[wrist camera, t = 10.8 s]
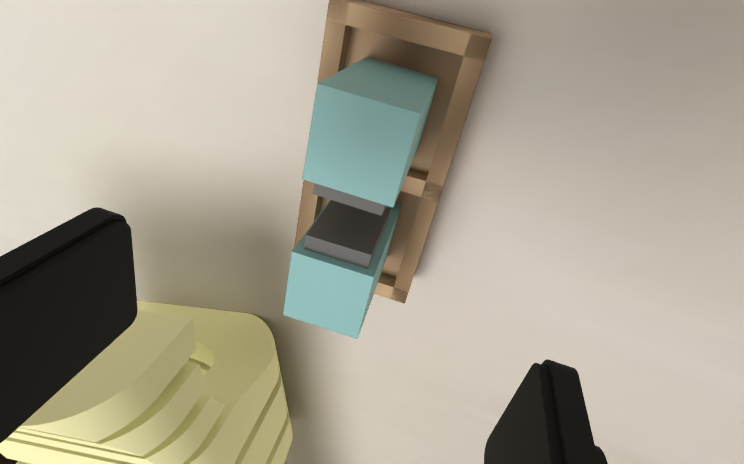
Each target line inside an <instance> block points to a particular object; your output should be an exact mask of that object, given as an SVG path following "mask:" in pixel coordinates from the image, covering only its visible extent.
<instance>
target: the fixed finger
mask: <svg viewBox="0 0 744 464" xmlns="http://www.w3.org/2000/svg"><path fill="white" fill-rule="evenodd" d="M401 205H402V204H399V203H395V204H394V207H389V206H386V208H385V210H384V212H383V214H382V216H381V215H378V214H374V213H371V212H368V211H365V210H362V209H359V208H355V207H352V206H349V205H346V204H343V203H339V202H336V201H333V200H330V201H329V202H328V203H327V205H326V206H325V207H324V209H323V210H322V211H321V213H320V214H319V216H318V217H317V218H316V220H315V221H314V222H313V224H312V225H311V226H310V228H309V229H308V230H307V232H306V233H305V234H304V236H303V237H302V238H301V240H300V241H299V243H298V244H297V245H296V247H295V248H294V249H293V251H292V253H291V260H290V268H289V275H288V282H287V289H286V297H285V304H284V311H283V315H285V316H288V317H291V318H294V319H297V320H300V321H303V322H306V323H309V324H312V325H315V326H318V327H322V328H325V329H328V330H331V331H334V332H337V333H340V334H343V335H346V336H349V337H352V338H355V339H357V338H358V336H359V333H360V330H361V327H362V325H363V322H364V319H365V316H366V314H367V311H368V308H369V305H370V303H371V300H372V297H373V294H374V291H375V289H376V286H377V283H378V280H379V278H380V275H381V272H382V269H383V267H384V264H385V261H386V258H387V255H388V252H389V248H390V245H391V241H392V238H393V234H394V230H395V227H396V223H397V220H398V216H399V213H400V209H401Z"/></svg>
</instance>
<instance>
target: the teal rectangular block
mask: <svg viewBox="0 0 744 464" xmlns="http://www.w3.org/2000/svg"><path fill="white" fill-rule="evenodd" d="M438 80H439V77H436V76H432V75H429V74H425V73H422V72H418V71H415V70H411V69H408V68H404V67H401V66H398V65H394V64H391V63H387V62H384V61H380V60H377V59H373V58H370V57H365V58H363V59H361V60H360V61H358V62H356V63H354V64H352V65H350V66H349V67H347V68H345V69H343V70H341V71H339V72H338V73H336V74H334V75H332V76H330V77H328V78H327V79H325V80H323V81H321V82H319V83H317V89H316V95H315V102H314V108H313V114H312V121H311V127H310V133H309V140H308V146H307V152H306V159H305V165H304V172H303V178H302V179H303V180H306V181H310V182H313V183H314V187H313V193H312V194H314V195H317V196H320V197H324V198H327V199H330V200H333V201H336V202H339V203H343V204H346V205H349V206H352V207H355V208H359V209H362V210H365V211H368V212H371V213H374V214H378V215H381V216H382V214H383V212H384V210H385V208H386V206H389V207H394V204H395V202H396V200H397V197H398V195H399V192H400V190H401V188H402V185H403V183H404V180H405V178H406V176H407V173H408V171H409V169H410V166H411V164H412V161H413V159H414V157H415V154H416V152H417V149H418V146H419V143H420V140H421V136H422V133H423V130H424V126H425V123H426V120H427V116H428V113H429V110H430V106H431V103H432V100H433V96H434V93H435V90H436V86H437V83H438Z"/></svg>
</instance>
